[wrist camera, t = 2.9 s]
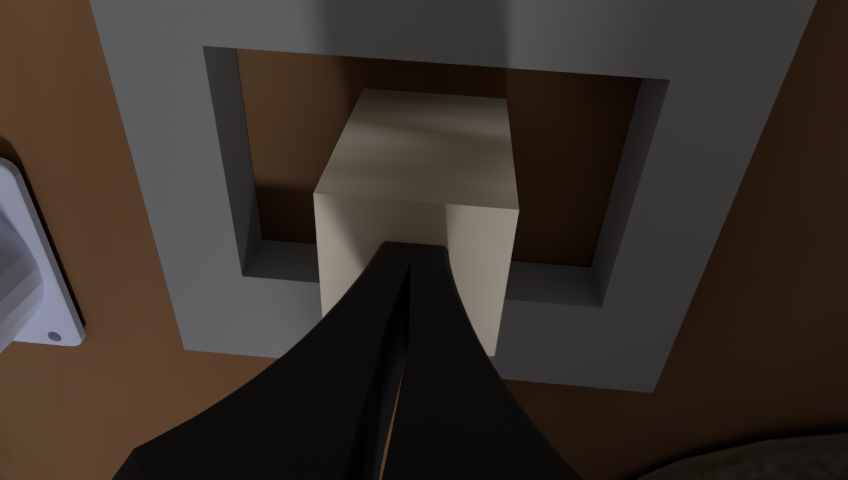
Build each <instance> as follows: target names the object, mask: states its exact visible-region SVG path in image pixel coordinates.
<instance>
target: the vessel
mask: <svg viewBox="0 0 848 480" xmlns="http://www.w3.org/2000/svg"><path fill="white" fill-rule="evenodd" d="M636 480H848V432H839V433H828V434H818V435H808V436H798V437H788V438H778V439H769V440H764V441H760V442H756V443H751V444H747V445H742V446H738V447H734V448H729V449H725V450H721V451H716V452H712V453H708V454H703V455H699V456H695V457H690V458H686V459H682V460H678V461H676V462H674V463H671V464H669V465H667V466H665V467H662V468H660V469H658V470H655V471H653V472H651V473H648V474H646V475H644V476H642V477H640V478H638V479H636Z"/></svg>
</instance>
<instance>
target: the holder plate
mask: <svg viewBox="0 0 848 480" xmlns="http://www.w3.org/2000/svg"><path fill="white" fill-rule="evenodd" d="M816 2H817V0H90V4H91V7H92V11H93V15H94V18H95V22H96V26H97V30H98V33H99V37H100V41H101V44H102V48H103V52H104V55H105V59H106V63H107V66H108V70H109V74H110V77H111V81H112V85H113V88H114V92H115V96H116V99H117V103H118V107H119V110H120V114H121V118H122V121H123V125H124V129H125V133H126V136H127V140H128V144H129V147H130V151H131V155H132V158H133V162H134V166H135V169H136V173H137V177H138V180H139V184H140V188H141V191H142V195H143V199H144V202H145V206H146V210H147V213H148V217H149V221H150V224H151V228H152V232H153V235H154V239H155V243H156V247H157V250H158V254H159V258H160V261H161V265H162V269H163V272H164V276H165V280H166V283H167V287H168V291H169V294H170V298H171V302H172V305H173V309H174V313H175V316H176V320H177V324H178V327H179V331H180V335H181V338H182V342H183V346H184V350H195V351H206V352H216V353H227V354H238V355H249V356H260V357H270V358H280V357H281V356H283V355H284V354H285V353H286V352H287V351H288V350H290V349H291V348H292V347H293V346H294V345H295V344H296V343H297V342H299V341H300V340H301V339H302V338H303V337H304V336H305V335H306V334H307V333H308V332H309V331H310V330H311V329H312V328H313V327H314V326H315V325H316V324H317V323H318V322H319V321H320V320H321V319H322V305H321V292H320V278H319V264H318V250H317V244H308V243H296V242H284V241H272V240H262V234H261V227H260V219H259V212H258V205H257V198H256V191H255V184H254V176H253V169H252V162H251V155H250V148H249V141H248V133H247V126H246V119H245V112H244V105H243V98H242V90H241V83H240V76H239V69H238V62H237V55H236V48H240V49H254V50H268V51H281V52H295V53H309V54H323V55H336V56H350V57H364V58H378V59H391V60H405V61H419V62H433V63H446V64H460V65H474V66H488V67H501V68H515V69H529V70H543V71H556V72H570V73H584V74H598V75H611V76H625V77H639V78H642V81H641V85H640V88H639V92H638V96H637V99H636V103H635V107H634V110H633V114H632V118H631V121H630V125H629V129H628V132H627V136H626V140H625V143H624V147H623V151H622V154H621V158H620V162H619V165H618V169H617V173H616V176H615V180H614V184H613V187H612V191H611V195H610V198H609V202H608V206H607V209H606V213H605V217H604V220H603V224H602V228H601V231H600V235H599V239H598V242H597V246H596V250H595V253H594V257H593V261H592V264H591V268H590V267H578V266H566V265H554V264H543V263H531V262H519V261H510V267H509V273H508V279H507V285H506V291H505V297H504V302H503V308H502V314H501V320H500V326H499V332H498V338H497V344H496V350H495V356H488V357H489V359H490V361H491V362H492V364H493V366H494V367H495V369H496V371H497V372H498V374H499V376H500V377H501V379H507V380H518V381H529V382H540V383H551V384H561V385H572V386H583V387H594V388H605V389H615V390H626V391H637V392H648V393H653V392H654V389H655V387H656V385H657V382H658V380H659V377H660V375H661V373H662V370H663V368H664V365H665V363H666V361H667V358H668V356H669V353H670V351H671V349H672V346H673V344H674V341H675V339H676V337H677V334H678V332H679V330H680V327H681V325H682V322H683V320H684V318H685V315H686V313H687V310H688V308H689V306H690V303H691V301H692V298H693V296H694V294H695V291H696V289H697V287H698V284H699V282H700V279H701V277H702V275H703V272H704V270H705V267H706V265H707V263H708V260H709V258H710V255H711V253H712V251H713V248H714V246H715V244H716V241H717V239H718V236H719V234H720V232H721V229H722V227H723V224H724V222H725V220H726V217H727V215H728V212H729V210H730V208H731V205H732V203H733V201H734V198H735V196H736V193H737V191H738V189H739V186H740V184H741V181H742V179H743V177H744V174H745V172H746V169H747V167H748V165H749V162H750V160H751V158H752V155H753V153H754V150H755V148H756V146H757V143H758V141H759V138H760V136H761V134H762V131H763V129H764V126H765V124H766V122H767V119H768V117H769V115H770V112H771V110H772V107H773V105H774V103H775V100H776V98H777V95H778V93H779V91H780V88H781V86H782V83H783V81H784V79H785V76H786V74H787V72H788V69H789V67H790V64H791V62H792V60H793V57H794V55H795V52H796V50H797V48H798V45H799V43H800V40H801V38H802V36H803V33H804V31H805V29H806V26H807V24H808V21H809V19H810V17H811V14H812V12H813V9H814V7H815V5H816ZM403 370H404V369H403Z"/></svg>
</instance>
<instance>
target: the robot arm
mask: <svg viewBox="0 0 848 480" xmlns="http://www.w3.org/2000/svg"><path fill="white" fill-rule="evenodd" d="M84 338H85V331H84V329H83V326H82V324H81V321H80V319H79V317H78V314H77V312H76V309H75V307H74V304H73V302H72V299H71V297H70V294H69V292H68V289H67V287H66V284H65V282H64V279H63V277H62V274H61V272H60V269H59V267H58V264H57V262H56V259H55V257H54V255H53V252H52V250H51V247H50V245H49V242H48V240H47V237H46V235H45V232H44V230H43V227H42V225H41V222H40V220H39V217H38V215H37V212H36V210H35V207H34V205H33V202H32V200H31V197H30V195H29V193H28V190H27V188H26V185H25V183H24V180H23V178H22V175H21V173H20V171H19V169H18V168H17V166H15V165H14V164H13V163H12V162H10V161H9V160H7V159H4V158H0V353H1V352H2V351H3V350H4V349H5V348H6V347H7V346H8V345H9V344H10V342H11V341H21V342H31V343H42V344H53V345H64V346H77V345H79V344H80V343H81V342H82V341H83V339H84ZM403 369H404V370H403ZM402 373H403V375H402ZM401 377H402V381H401ZM400 381H401V386H400ZM399 386H400V392H399V397H398V403H397V408H396V413H395V418H394V423H393V428H392V433H391V438H390V443H389V448H388V453H387V457H386V462H385V467H384V471H383V476H382V480H583V479H582V478H581V477H580V476H579V475H578V474H577V473H576V471H575V470H574V469H573V468H572V467H571V466H570V465H569V464H568V463H567V462H566V461H565V460H564V459H563V458H562V456H561V455H560V454H559V453H558V452H557V451H556V450H555V448H554V447H553V446H552V445H551V444H550V443H549V441H548V440H547V439H546V438H545V437H544V436H543V435H542V433H541V432H540V431H539V430H538V428H537V427H536V426H535V424H534V423H533V422H532V420H531V419H530V418H529V416H528V415H527V414H526V413H525V411H524V410H523V409H522V407H521V406H520V405H519V403H518V402H517V401H516V400H515V398H514V397H513V395H512V394H511V392H510V391H509V389H508V388H507V386H506V385H505V383H504V382H503V380H502V379H501V377H500V376H499V374H498V372H497V371H496V369H495V367H494V366H493V364H492V362H491V361H490V359H489V357H488V356H487V354H486V352H485V350H484V348H483V346H482V344H481V343H480V341H479V339H478V337H477V335H476V332H475V330H474V328H473V326H472V324H471V322H470V320H469V317H468V315H467V313H466V310H465V308H464V305H463V303H462V300H461V298H460V295H459V292H458V290H457V287H456V284H455V280H454V277H453V273H452V269H451V265H450V260H449V251H448V250H447V249H446V247H445V246H441V245H429V244H416V243H405V242H393V241H385V242H384V243H382V244H381V245H380V246H379V248H378V250H377V251H376V253H375V254H374V256H373V257H372V259H371V260H370V262H369V263H368V265H367V266H366V267H365V269H364V270H363V271H362V273H361V274H360V276H359V277H358V278H357V279H356V281H355V282H354V283H353V284H352V285H351V287H350V288H349V289H348V290H347V292H346V293H345V294H344V295H343V296H342V298H341V299H340V300H339V301H338V302H337V303H336V304H335V305H334V306H333V308H332V309H331V310H330V311H329V312H328V313H327V314H326V315H325V316H324V317H323V318H322V319H321V320H320V321H319V322H318V323H317V324H316V325H315V326H314V327H313V328H312V329H311V330H310V331H309V332H308V333H307V334H306V335H305V336H304V337H303V338H302V339H301V340H300V341H299V342H297V343H296V344H295V345H294V346H293V347H292V348H291V349H290V350H288V351H287V352H286V353H285V354H284V355H283V356H281V357H280V358H279V359H278V360H276V361H275V362H274V363H272V364H271V365H270V366H269V367H267V368H266V369H265V370H264V371H262V372H261V373H260V374H258V375H257V376H256V377H254V378H253V379H252V380H250V381H249V382H248V383H246V384H245V385H243V386H242V387H240V388H239V389H237V390H236V391H234V392H233V393H231V394H230V395H228V396H227V397H225V398H224V399H222V400H221V401H219V402H217V403H216V404H214V405H213V406H211V407H210V408H208V409H207V410H205V411H203V412H202V413H200V414H198V415H197V416H195V417H193V418H192V419H190V420H188V421H186V422H184V423H182V424H180V425H179V426H177V427H175V428H173V429H171V430H169V431H167V432H165V433H164V434H162V435H160V436H158V437H156V438H154V439H152V440H150V441H148V442H147V443H145V444H142V445H140V446H138V447H136V448H135V449H133V451H132V452H131V454H130V455H129V457H128V458H127V460H126V461H125V462H124V464H123V465H122V466H121V468H120V469H119V470H118V471H117V473H116V474H115V476H114V477H113V478H112V480H379V477H380V470H381V464H382V459H383V454H384V449H385V444H386V440H387V436H388V432H389V427H390V423H391V419H392V415H393V411H394V407H395V402H396V398H397V394H398V390H399Z"/></svg>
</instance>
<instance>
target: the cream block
mask: <svg viewBox="0 0 848 480" xmlns="http://www.w3.org/2000/svg"><path fill="white" fill-rule="evenodd" d="M313 195H314V209H315V222H316V236H317V250H318V264H319V278H320V292H321V305H322V318H323V317H324V316H325V315H326V314H327V313H328V312H329V311H330V310H331V309H332V308H333V306H334V305H335V304H336V303H337V302H338V301H339V300H340V299H341V298H342V296H343V295H344V294H345V293H346V292H347V290H348V289H349V288H350V287H351V285H352V284H353V283H354V282H355V281H356V279H357V278H358V277H359V276H360V274H361V273H362V271H363V270H364V269H365V267H366V266H367V265H368V263H369V262H370V260H371V259H372V257H373V256H374V254H375V253H376V251H377V250H378V248H379V246H380V245H381V244H382V243H384V242H385V241H393V242H405V243H416V244H429V245H441V246H445V247H446V249H447V250H448V251H449V260H450V265H451V269H452V273H453V277H454V280H455V284H456V287H457V290H458V292H459V295H460V298H461V300H462V303H463V305H464V308H465V310H466V313H467V315H468V317H469V320H470V322H471V324H472V326H473V328H474V330H475V332H476V335H477V337H478V339H479V341H480V343H481V344H482V346H483V348H484V350H485V352H486V354H487V356H495V350H496V344H497V338H498V332H499V326H500V320H501V314H502V308H503V302H504V297H505V291H506V285H507V279H508V273H509V267H510V261H511V255H512V249H513V244H514V238H515V232H516V226H517V220H518V214H519V204H518V195H517V187H516V178H515V170H514V161H513V152H512V144H511V135H510V127H509V118H508V109H507V101H506V99H501V98H488V97H475V96H461V95H448V94H435V93H421V92H408V91H395V90H381V89H368V88H363V90H362V92H361V94H360V96H359V99H358V101H357V103H356V105H355V107H354V109H353V111H352V113H351V115H350V117H349V119H348V122H347V124H346V126H345V128H344V130H343V132H342V134H341V136H340V138H339V140H338V143H337V145H336V147H335V149H334V151H333V153H332V155H331V157H330V159H329V161H328V164H327V166H326V168H325V170H324V172H323V174H322V176H321V178H320V180H319V182H318V184H317V187H316V189H315V191H314V193H313Z"/></svg>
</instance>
